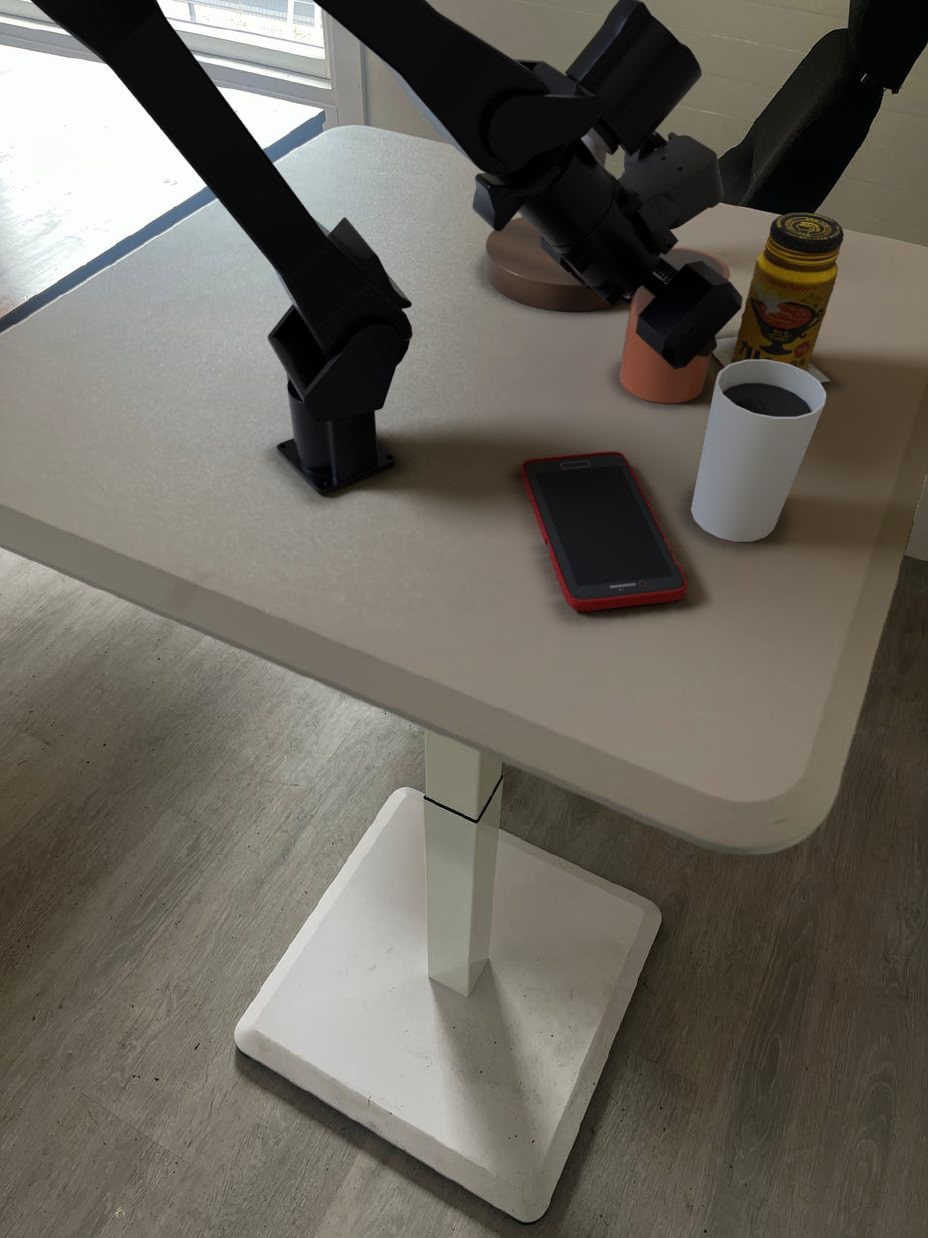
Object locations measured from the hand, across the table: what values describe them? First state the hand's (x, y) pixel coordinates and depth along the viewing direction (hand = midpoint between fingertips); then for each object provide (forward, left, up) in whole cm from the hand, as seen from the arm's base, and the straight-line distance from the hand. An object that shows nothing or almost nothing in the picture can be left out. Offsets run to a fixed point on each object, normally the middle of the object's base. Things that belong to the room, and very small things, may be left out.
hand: (685, 328), depth 73 cm
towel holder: (+19, -4, -4) cm, 20 cm away
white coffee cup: (-15, +9, -4) cm, 18 cm away
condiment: (-3, -8, -4) cm, 9 cm away
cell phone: (-11, +18, -4) cm, 22 cm away
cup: (0, +1, -4) cm, 5 cm away
